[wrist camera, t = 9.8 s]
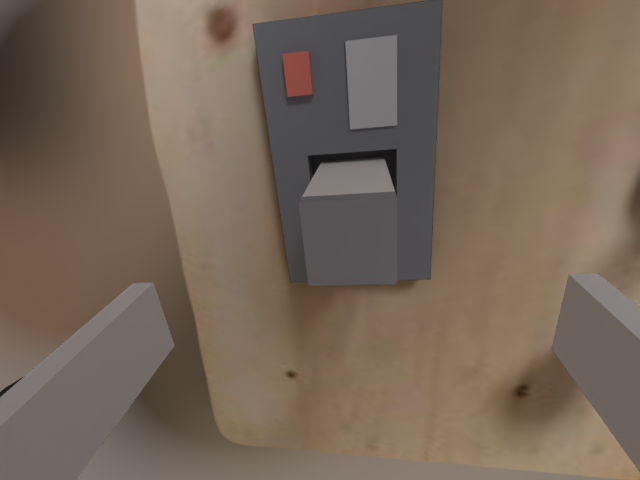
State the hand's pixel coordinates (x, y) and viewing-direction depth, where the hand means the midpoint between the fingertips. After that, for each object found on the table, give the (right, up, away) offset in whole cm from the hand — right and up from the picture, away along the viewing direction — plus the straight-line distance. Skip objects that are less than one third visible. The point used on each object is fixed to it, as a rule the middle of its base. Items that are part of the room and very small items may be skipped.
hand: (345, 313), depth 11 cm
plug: (+2, +6, +14) cm, 16 cm away
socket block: (+2, +8, +14) cm, 16 cm away
